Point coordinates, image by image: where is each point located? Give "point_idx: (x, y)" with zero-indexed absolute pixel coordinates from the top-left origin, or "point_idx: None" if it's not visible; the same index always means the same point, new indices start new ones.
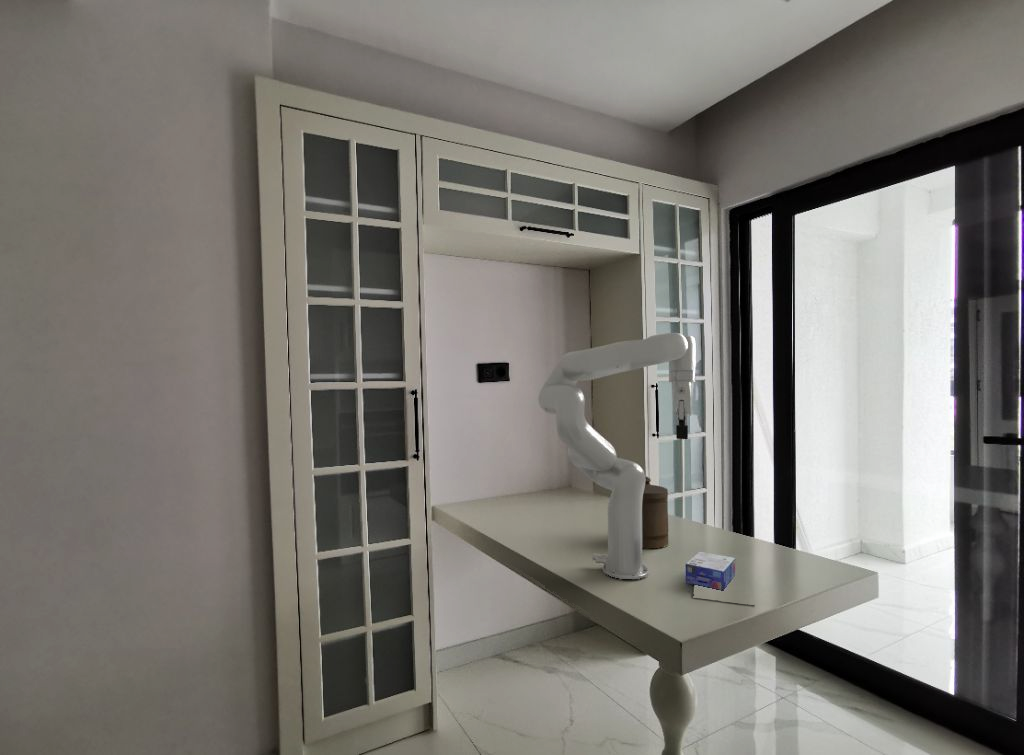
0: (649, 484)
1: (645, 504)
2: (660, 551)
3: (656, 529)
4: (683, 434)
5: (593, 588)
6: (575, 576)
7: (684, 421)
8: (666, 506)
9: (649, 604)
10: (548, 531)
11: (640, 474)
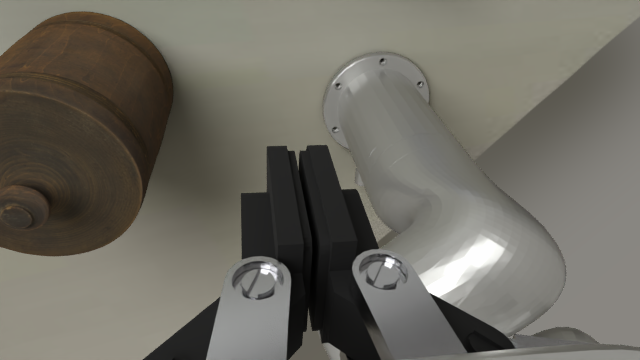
0: (33, 179)
1: (148, 145)
2: (171, 32)
3: (144, 68)
4: (359, 205)
5: (473, 144)
6: None
7: (475, 317)
8: (62, 65)
9: (545, 33)
10: (143, 301)
11: (545, 231)
